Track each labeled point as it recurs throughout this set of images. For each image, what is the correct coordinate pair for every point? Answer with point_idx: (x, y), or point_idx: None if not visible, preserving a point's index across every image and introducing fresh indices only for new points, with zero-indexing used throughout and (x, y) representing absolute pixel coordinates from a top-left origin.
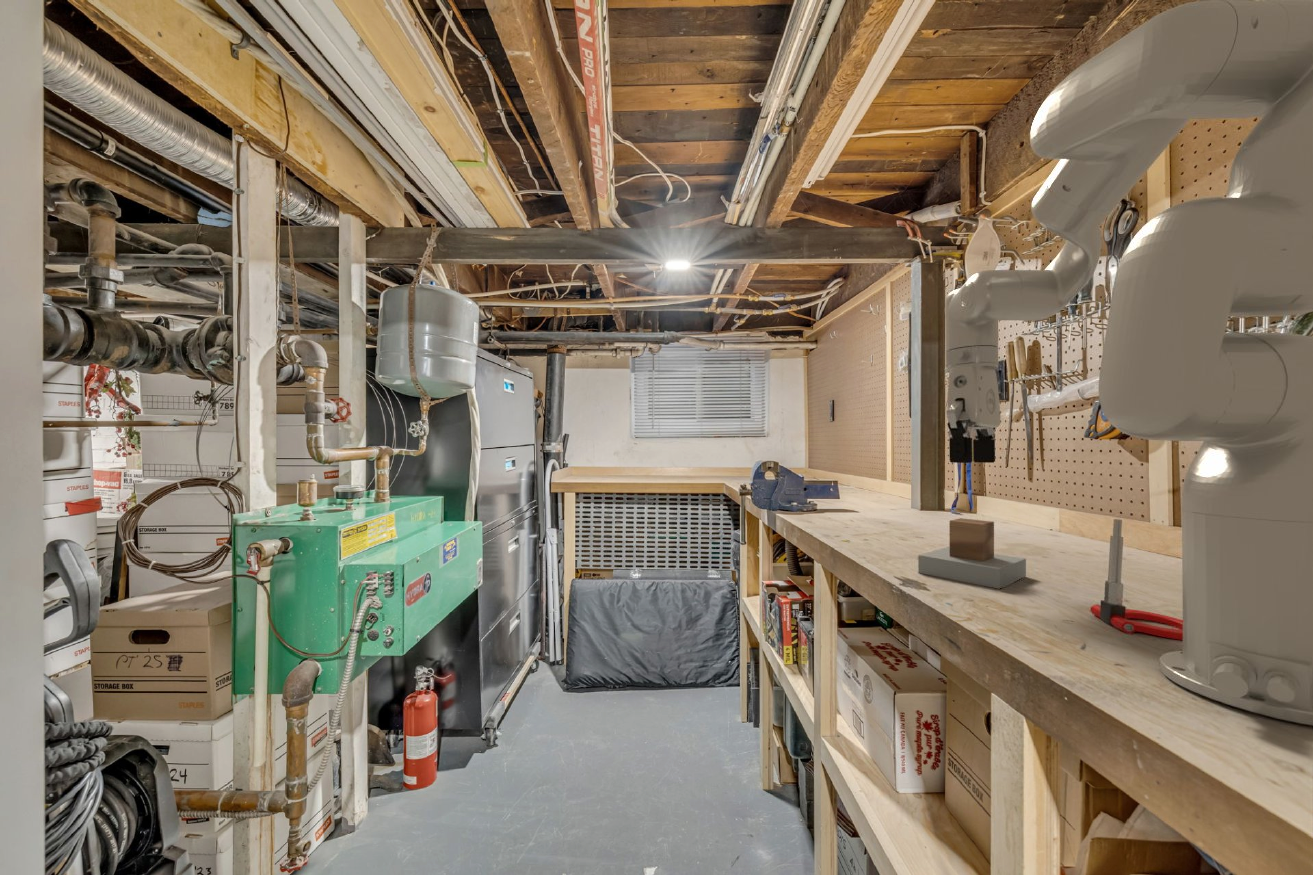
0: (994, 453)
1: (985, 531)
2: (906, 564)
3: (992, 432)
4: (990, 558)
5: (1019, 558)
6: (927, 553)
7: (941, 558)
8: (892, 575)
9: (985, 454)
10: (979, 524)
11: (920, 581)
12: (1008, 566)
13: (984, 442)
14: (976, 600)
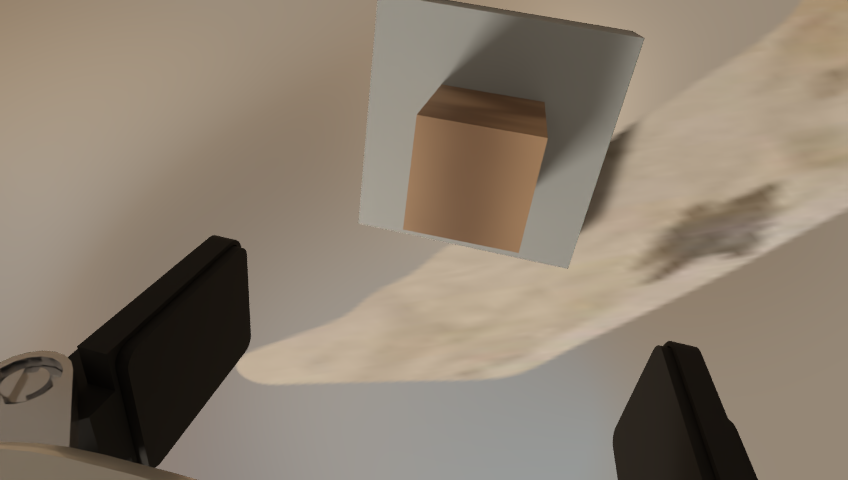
0: (188, 268)
1: (517, 124)
2: (474, 283)
3: (32, 422)
4: (474, 90)
5: (393, 12)
6: (520, 253)
7: (577, 210)
8: (640, 287)
9: (218, 317)
10: (543, 150)
11: (669, 221)
12: (556, 23)
13: (151, 394)
14: (829, 62)
